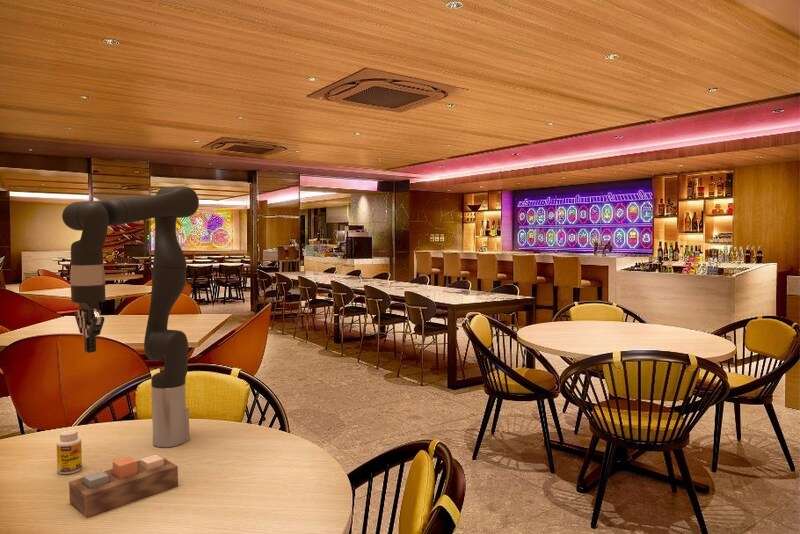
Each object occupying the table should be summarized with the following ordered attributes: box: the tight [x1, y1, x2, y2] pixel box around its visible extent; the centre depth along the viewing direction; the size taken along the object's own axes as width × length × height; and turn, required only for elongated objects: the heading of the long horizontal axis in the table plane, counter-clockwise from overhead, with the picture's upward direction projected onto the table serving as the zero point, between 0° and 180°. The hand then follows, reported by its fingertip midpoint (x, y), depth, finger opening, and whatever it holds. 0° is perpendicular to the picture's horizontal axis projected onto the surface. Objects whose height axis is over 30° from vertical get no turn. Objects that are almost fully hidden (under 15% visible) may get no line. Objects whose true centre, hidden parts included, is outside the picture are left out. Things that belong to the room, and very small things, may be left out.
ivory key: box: [139, 454, 164, 471], centre depth 142 cm, size 4×4×4 cm
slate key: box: [82, 470, 109, 489], centre depth 133 cm, size 4×4×4 cm
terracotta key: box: [112, 456, 138, 480], centre depth 137 cm, size 4×4×4 cm
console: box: [68, 454, 179, 518], centre depth 138 cm, size 21×10×5 cm, turn 138°
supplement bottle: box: [56, 429, 83, 475], centre depth 150 cm, size 6×6×10 cm
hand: (90, 351), depth 145 cm, fingers closed
